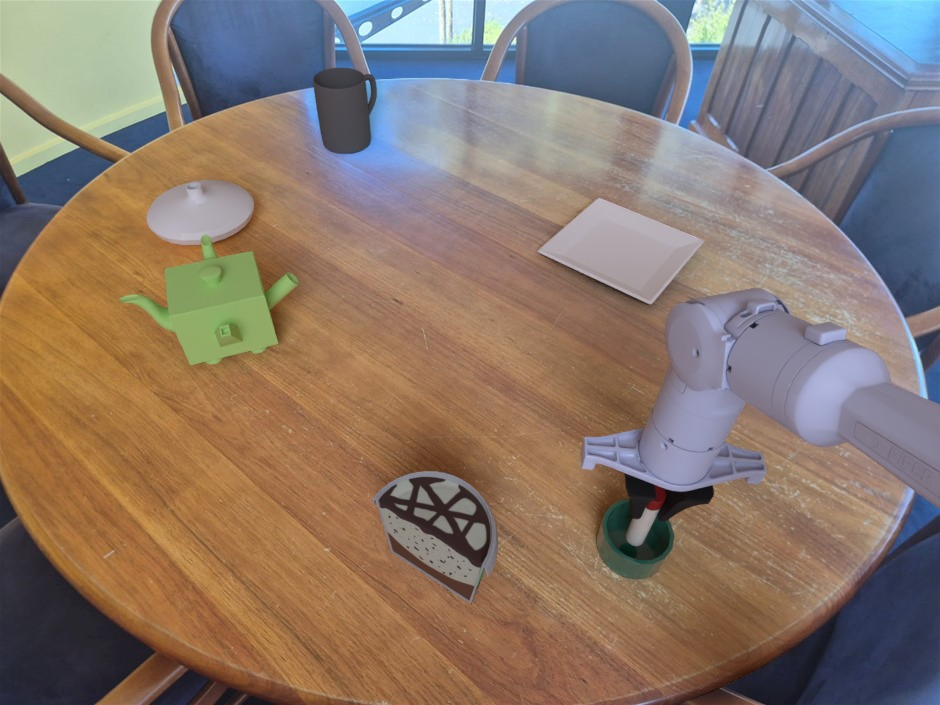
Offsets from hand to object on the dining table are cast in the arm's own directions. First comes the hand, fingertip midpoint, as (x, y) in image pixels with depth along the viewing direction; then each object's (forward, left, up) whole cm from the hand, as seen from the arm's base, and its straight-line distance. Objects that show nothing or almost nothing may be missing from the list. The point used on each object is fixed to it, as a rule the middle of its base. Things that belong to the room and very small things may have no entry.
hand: (647, 510), depth 57 cm
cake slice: (+7, +17, -8) cm, 20 cm away
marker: (0, 0, -5) cm, 5 cm away
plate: (+40, -26, -8) cm, 48 cm away
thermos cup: (0, 0, -7) cm, 7 cm away
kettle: (+46, +31, -8) cm, 56 cm away
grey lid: (+72, +30, -8) cm, 78 cm away
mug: (+90, 0, -8) cm, 90 cm away
